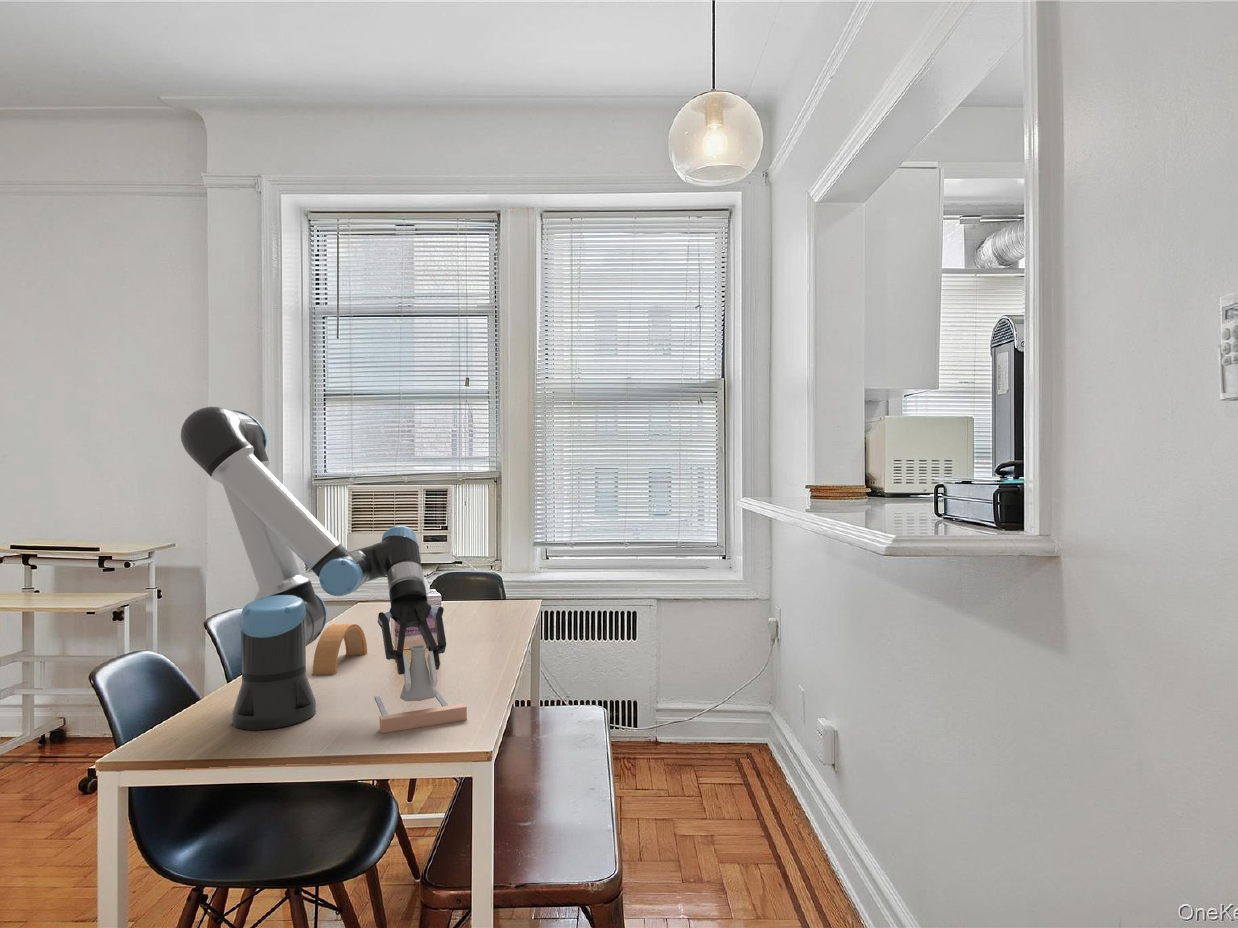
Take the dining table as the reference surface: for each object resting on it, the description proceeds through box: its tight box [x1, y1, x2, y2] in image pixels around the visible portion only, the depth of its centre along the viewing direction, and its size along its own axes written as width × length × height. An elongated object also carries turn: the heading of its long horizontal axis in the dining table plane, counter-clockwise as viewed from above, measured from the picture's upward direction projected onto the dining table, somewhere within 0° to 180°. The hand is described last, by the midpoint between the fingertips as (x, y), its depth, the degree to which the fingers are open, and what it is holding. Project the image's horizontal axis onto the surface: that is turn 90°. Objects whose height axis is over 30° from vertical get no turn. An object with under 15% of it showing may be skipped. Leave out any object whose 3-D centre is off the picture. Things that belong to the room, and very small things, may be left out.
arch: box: [312, 623, 368, 675], centre depth 188 cm, size 6×20×10 cm, turn 177°
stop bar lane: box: [374, 689, 468, 734], centre depth 150 cm, size 16×24×2 cm
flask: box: [399, 644, 438, 702], centre depth 145 cm, size 7×7×10 cm
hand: (421, 685), depth 142 cm, fingers closed on flask, 4 cm apart
